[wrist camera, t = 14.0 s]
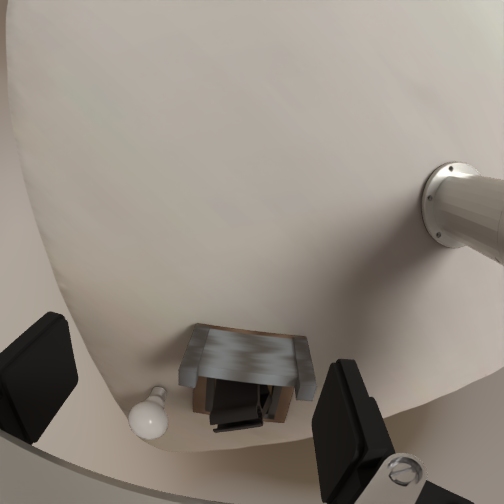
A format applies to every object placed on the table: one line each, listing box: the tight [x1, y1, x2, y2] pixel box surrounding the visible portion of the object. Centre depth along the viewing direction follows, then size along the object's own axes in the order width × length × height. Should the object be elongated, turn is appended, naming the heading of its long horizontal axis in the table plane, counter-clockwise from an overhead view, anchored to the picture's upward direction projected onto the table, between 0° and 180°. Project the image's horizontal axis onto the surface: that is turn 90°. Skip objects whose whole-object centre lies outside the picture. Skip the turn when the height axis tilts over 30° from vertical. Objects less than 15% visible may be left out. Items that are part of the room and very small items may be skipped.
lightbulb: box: [128, 387, 168, 440], centre depth 45 cm, size 6×6×11 cm
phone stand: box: [210, 378, 272, 433], centre depth 40 cm, size 9×6×12 cm, turn 15°
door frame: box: [179, 323, 317, 423], centre depth 43 cm, size 16×18×12 cm
